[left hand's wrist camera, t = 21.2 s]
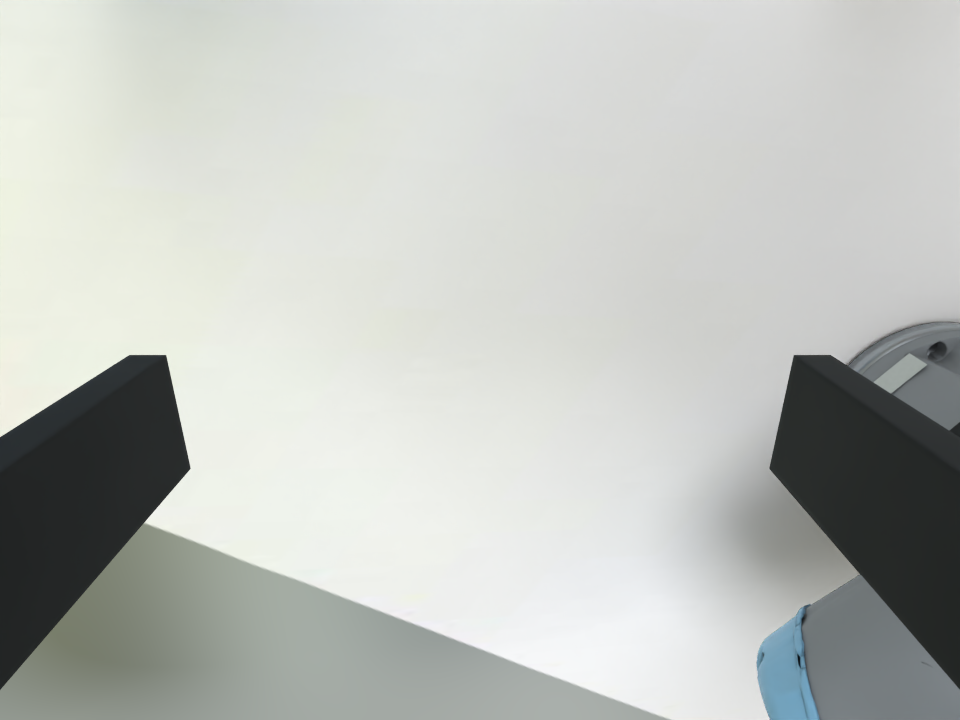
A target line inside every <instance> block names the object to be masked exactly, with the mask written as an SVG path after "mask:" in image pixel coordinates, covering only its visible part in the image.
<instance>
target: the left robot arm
mask: <svg viewBox="0 0 960 720" xmlns="http://www.w3.org/2000/svg"><path fill="white" fill-rule="evenodd" d="M189 470H190V464H189V459H188V455H187V450H186V445H185V441H184V436H183V432H182V427H181V422H180V418H179V413H178V408H177V404H176V399H175V394H174V390H173V385H172V380H171V376H170V371H169V367H168V362H167V357H166V355H129V356H127V357H126V358H124V359H123V360H121V361H120V362H118V363H116V364H115V365H113V366H112V367H110V368H109V369H107V370H105V371H104V372H102V373H101V374H99V375H97V376H96V377H94V378H93V379H91V380H90V381H88V382H86V383H85V384H83V385H82V386H80V387H79V388H77V389H75V390H74V391H72V392H71V393H69V394H68V395H66V396H64V397H63V398H61V399H60V400H58V401H57V402H55V403H53V404H52V405H50V406H49V407H47V408H46V409H44V410H42V411H41V412H39V413H38V414H36V415H35V416H33V417H31V418H30V419H28V420H27V421H25V422H24V423H22V424H20V425H19V426H17V427H16V428H14V429H13V430H11V431H9V432H8V433H6V434H5V435H3V436H1V437H0V689H1V688H2V687H3V686H4V685H5V683H6V682H7V681H8V680H9V679H10V678H11V677H12V675H13V674H14V673H15V672H16V671H17V670H18V668H19V667H20V666H21V665H22V664H23V663H24V661H25V660H26V659H27V658H28V657H29V656H30V655H31V653H32V652H33V651H34V650H35V649H36V648H37V646H38V645H39V644H40V643H41V642H42V641H43V639H44V638H45V637H46V636H47V635H48V634H49V632H50V631H51V630H52V629H53V628H54V627H55V625H56V624H57V623H58V622H59V621H60V620H61V618H62V617H63V616H64V615H65V614H66V613H67V612H68V610H69V609H70V608H71V607H72V606H73V604H74V603H75V602H76V601H77V600H78V599H79V598H80V596H81V595H82V594H83V593H84V592H85V591H86V589H87V588H88V587H89V586H90V585H91V584H92V582H93V581H94V580H95V579H96V578H97V577H98V575H99V574H100V573H101V572H102V571H103V570H104V569H105V567H106V566H107V565H108V564H109V563H110V562H111V560H112V559H113V558H114V557H115V556H116V555H117V553H118V552H119V551H120V550H121V549H122V548H123V546H124V545H125V544H126V543H127V542H128V541H129V539H130V538H131V537H132V536H133V535H134V534H135V533H136V531H137V530H138V529H139V528H140V527H141V526H142V524H143V523H144V522H145V521H146V520H147V519H148V517H149V516H150V515H151V514H152V513H153V512H154V510H155V509H156V508H157V507H158V506H159V505H160V504H161V502H162V501H163V500H164V499H165V498H166V497H167V495H168V494H169V493H170V492H171V491H172V490H173V488H174V487H175V486H176V485H177V484H178V483H179V481H180V480H181V479H182V478H183V477H184V476H185V474H186V473H187V472H188V471H189ZM770 470H771V471H772V472H773V473H774V474H775V476H776V477H777V478H778V479H779V480H780V481H781V483H782V484H783V485H784V486H785V487H786V488H787V490H788V491H789V492H790V493H791V494H792V495H793V497H794V498H795V499H796V500H797V501H798V502H799V504H800V505H801V506H802V507H803V508H804V509H805V510H806V512H807V513H808V514H809V515H810V516H811V517H812V519H813V520H814V521H815V522H816V523H817V524H818V526H819V527H820V528H821V529H822V530H823V531H824V533H825V534H826V535H827V536H828V537H829V538H830V540H831V541H832V542H833V543H834V544H835V545H836V546H837V548H838V549H839V550H840V551H841V552H842V553H843V555H844V556H845V557H846V558H847V559H848V560H849V562H850V563H851V564H852V565H853V566H854V567H855V569H856V570H857V571H858V572H859V573H860V575H858V576H857V577H855V578H854V579H852V580H851V581H849V582H848V583H846V584H844V585H843V586H841V587H840V588H838V589H836V590H835V591H833V592H831V593H830V594H828V595H827V596H825V597H823V598H822V599H820V600H818V601H817V602H815V603H814V604H812V605H811V604H809V605H806V606H804V607H802V608H801V609H800V610H799V611H798V613H797V615H796V616H795V617H794V618H792V619H791V620H790V621H788V622H787V623H786V624H785V625H783V626H782V627H780V628H779V629H778V630H776V631H775V632H773V633H772V634H771V635H769V636H768V637H767V638H766V639H765V640H764V641H763V643H762V644H761V646H760V648H759V651H758V655H757V671H758V682H759V687H760V691H761V695H762V698H763V701H764V704H765V707H766V710H767V713H768V715H769V718H770V720H960V323H954V322H939V323H929V324H923V325H919V326H915V327H911V328H908V329H905V330H902V331H899V332H897V333H895V334H892V335H890V336H888V337H886V338H884V339H882V340H881V341H879V342H877V343H876V344H874V345H872V346H871V347H870V348H868V349H867V350H865V351H864V352H863V353H862V354H860V355H859V356H858V357H857V358H856V359H854V360H853V361H852V362H851V363H850V364H849V365H848V366H847V365H845V364H844V363H842V362H840V361H839V360H837V359H836V358H834V357H833V356H831V355H794V357H793V362H792V367H791V371H790V376H789V380H788V385H787V390H786V394H785V399H784V404H783V408H782V413H781V418H780V422H779V427H778V432H777V436H776V441H775V445H774V450H773V455H772V459H771V464H770Z"/></svg>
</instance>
